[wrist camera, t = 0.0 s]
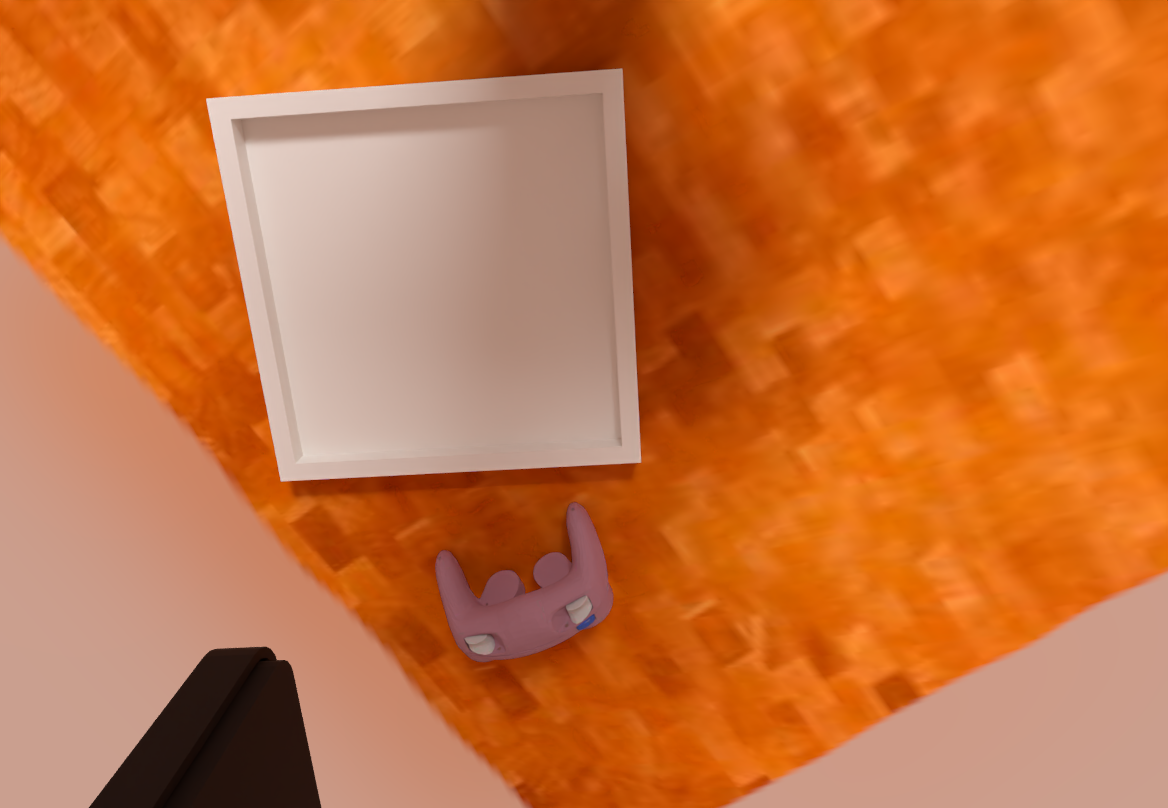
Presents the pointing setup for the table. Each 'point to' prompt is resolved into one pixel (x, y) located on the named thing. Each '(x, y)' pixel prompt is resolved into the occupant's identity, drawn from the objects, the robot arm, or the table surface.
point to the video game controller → (529, 599)
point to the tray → (437, 272)
